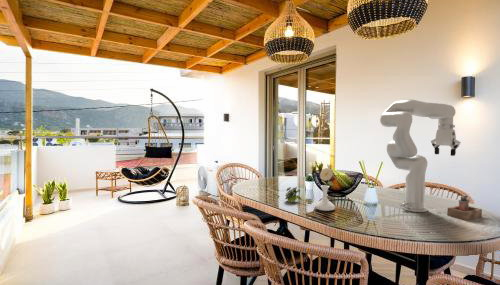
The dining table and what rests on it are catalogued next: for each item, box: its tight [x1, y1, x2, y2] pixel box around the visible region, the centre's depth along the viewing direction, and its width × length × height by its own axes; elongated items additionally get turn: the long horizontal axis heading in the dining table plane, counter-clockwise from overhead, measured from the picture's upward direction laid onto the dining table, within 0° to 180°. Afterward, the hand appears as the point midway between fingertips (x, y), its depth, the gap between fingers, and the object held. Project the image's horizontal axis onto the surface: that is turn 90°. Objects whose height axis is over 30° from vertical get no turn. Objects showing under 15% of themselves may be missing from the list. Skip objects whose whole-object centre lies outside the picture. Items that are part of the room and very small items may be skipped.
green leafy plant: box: [284, 186, 302, 204], centre depth 182 cm, size 11×11×12 cm
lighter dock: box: [446, 205, 483, 221], centre depth 150 cm, size 13×9×4 cm
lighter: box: [458, 194, 470, 211], centre depth 150 cm, size 8×3×10 cm, turn 124°
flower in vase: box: [314, 167, 336, 212], centre depth 162 cm, size 13×11×25 cm
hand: (444, 154), depth 173 cm, fingers open, 9 cm apart
